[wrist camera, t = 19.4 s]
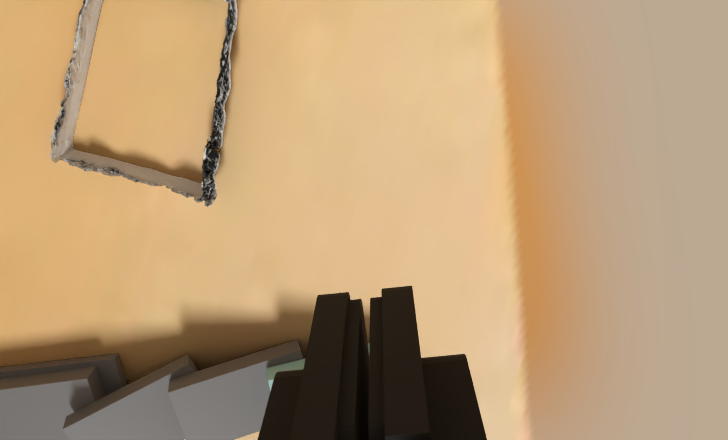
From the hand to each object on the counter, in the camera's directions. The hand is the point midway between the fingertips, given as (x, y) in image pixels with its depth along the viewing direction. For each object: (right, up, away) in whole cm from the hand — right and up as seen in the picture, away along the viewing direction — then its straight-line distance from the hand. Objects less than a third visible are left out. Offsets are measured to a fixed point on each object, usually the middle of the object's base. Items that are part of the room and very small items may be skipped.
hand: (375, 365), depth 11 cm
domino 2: (-11, -9, +33) cm, 36 cm away
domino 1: (-4, -8, +33) cm, 34 cm away
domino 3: (-19, -10, +33) cm, 40 cm away
